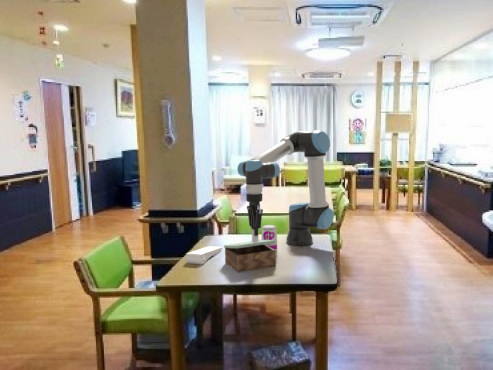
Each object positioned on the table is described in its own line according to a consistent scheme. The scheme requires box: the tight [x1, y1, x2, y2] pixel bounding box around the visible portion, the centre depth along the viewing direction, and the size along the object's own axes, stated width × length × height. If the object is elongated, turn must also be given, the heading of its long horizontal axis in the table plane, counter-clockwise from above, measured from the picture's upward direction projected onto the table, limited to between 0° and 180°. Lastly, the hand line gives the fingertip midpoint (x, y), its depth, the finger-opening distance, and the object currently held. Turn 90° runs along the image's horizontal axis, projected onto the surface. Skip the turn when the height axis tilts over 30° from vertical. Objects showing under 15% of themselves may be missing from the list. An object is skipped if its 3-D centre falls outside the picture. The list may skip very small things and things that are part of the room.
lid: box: [223, 239, 276, 249], centre depth 214 cm, size 21×16×1 cm
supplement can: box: [260, 224, 278, 254], centre depth 232 cm, size 8×8×15 cm
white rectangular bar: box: [185, 245, 223, 265], centre depth 231 cm, size 10×7×28 cm
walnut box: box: [224, 244, 277, 274], centre depth 214 cm, size 20×17×8 cm
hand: (255, 242), depth 207 cm, fingers closed
